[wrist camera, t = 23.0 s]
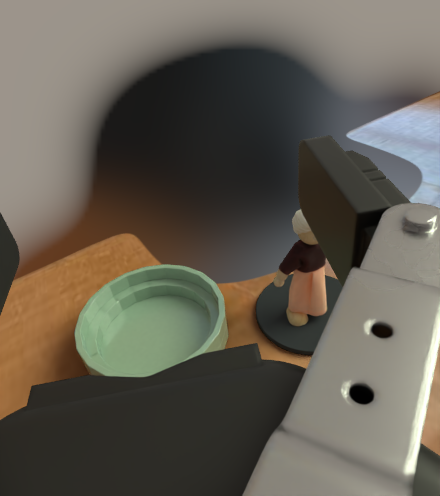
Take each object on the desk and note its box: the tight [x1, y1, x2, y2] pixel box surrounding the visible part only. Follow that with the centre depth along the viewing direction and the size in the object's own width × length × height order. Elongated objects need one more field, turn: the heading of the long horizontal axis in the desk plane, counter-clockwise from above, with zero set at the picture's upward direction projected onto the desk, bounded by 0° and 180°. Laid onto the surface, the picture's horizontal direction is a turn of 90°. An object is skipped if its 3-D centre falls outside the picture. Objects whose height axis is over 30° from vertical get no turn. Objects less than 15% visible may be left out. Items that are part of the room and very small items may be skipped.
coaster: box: [256, 274, 343, 355], centre depth 44 cm, size 11×11×1 cm
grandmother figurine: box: [273, 210, 327, 326], centre depth 40 cm, size 8×4×13 cm, turn 129°
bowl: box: [74, 264, 228, 377], centre depth 43 cm, size 15×15×4 cm
